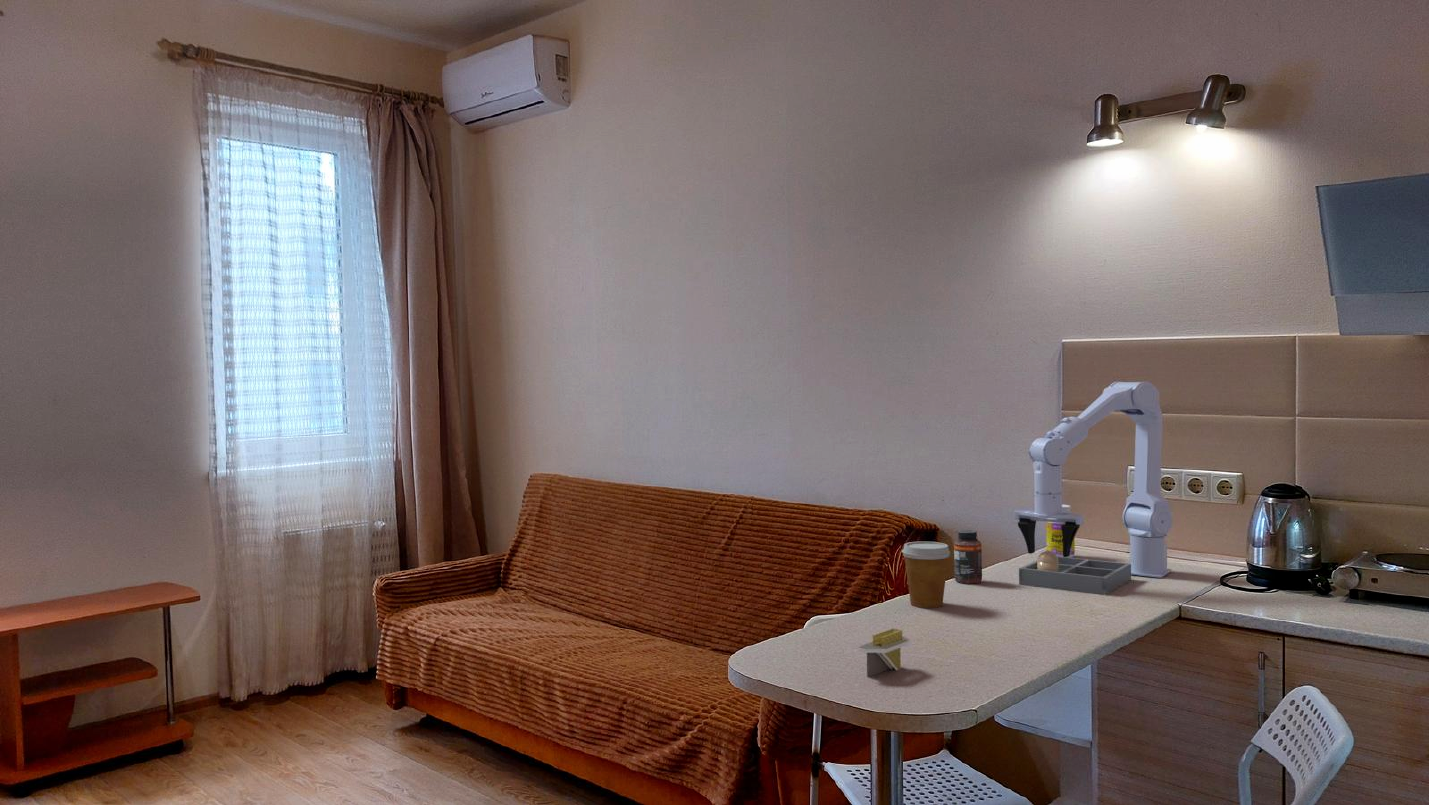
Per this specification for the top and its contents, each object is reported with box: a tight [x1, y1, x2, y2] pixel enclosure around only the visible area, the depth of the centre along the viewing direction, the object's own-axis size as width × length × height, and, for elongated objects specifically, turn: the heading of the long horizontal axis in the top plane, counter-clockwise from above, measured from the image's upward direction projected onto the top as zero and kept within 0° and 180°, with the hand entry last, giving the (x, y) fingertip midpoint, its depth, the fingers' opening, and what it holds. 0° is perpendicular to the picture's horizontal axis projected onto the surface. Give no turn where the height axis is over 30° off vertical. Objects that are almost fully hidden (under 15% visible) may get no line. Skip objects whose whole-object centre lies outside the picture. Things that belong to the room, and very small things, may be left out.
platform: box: [858, 628, 911, 678], centre depth 154 cm, size 12×18×7 cm, turn 136°
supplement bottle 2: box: [1045, 504, 1076, 558], centre depth 246 cm, size 7×7×13 cm
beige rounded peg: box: [1036, 550, 1059, 572], centre depth 216 cm, size 4×4×6 cm
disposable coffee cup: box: [901, 541, 951, 609], centre depth 198 cm, size 10×10×12 cm
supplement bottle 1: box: [953, 529, 983, 585], centre depth 219 cm, size 6×6×11 cm
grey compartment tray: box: [1018, 556, 1132, 596], centre depth 217 cm, size 18×18×4 cm
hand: (1048, 554), depth 216 cm, fingers open, 7 cm apart
